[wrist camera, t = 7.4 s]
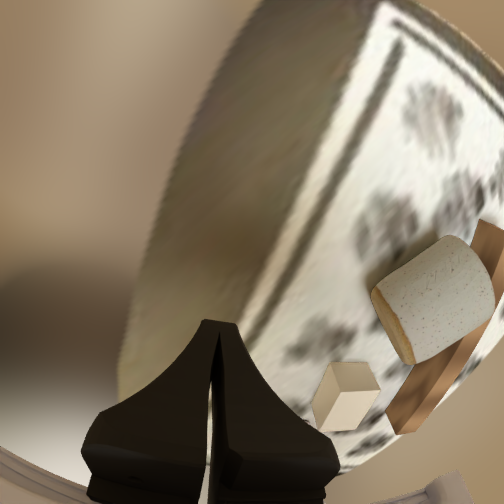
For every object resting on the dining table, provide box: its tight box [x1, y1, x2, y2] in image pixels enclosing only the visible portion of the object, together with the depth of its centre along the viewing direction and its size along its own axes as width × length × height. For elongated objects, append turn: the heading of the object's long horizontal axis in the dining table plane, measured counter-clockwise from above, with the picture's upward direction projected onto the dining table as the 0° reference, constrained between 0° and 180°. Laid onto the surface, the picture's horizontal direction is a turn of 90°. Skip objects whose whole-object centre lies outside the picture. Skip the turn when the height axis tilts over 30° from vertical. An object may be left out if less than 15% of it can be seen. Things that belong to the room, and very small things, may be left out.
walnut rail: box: [385, 219, 504, 435], centre depth 23 cm, size 24×3×4 cm, turn 169°
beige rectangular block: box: [311, 362, 381, 432], centre depth 25 cm, size 6×4×4 cm, turn 171°
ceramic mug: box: [371, 235, 495, 365], centre depth 19 cm, size 11×8×8 cm
